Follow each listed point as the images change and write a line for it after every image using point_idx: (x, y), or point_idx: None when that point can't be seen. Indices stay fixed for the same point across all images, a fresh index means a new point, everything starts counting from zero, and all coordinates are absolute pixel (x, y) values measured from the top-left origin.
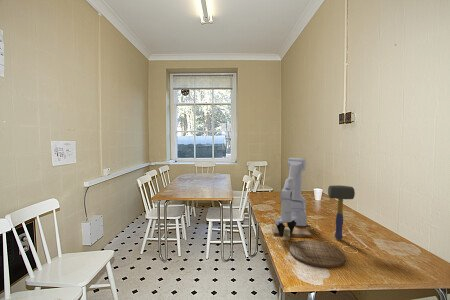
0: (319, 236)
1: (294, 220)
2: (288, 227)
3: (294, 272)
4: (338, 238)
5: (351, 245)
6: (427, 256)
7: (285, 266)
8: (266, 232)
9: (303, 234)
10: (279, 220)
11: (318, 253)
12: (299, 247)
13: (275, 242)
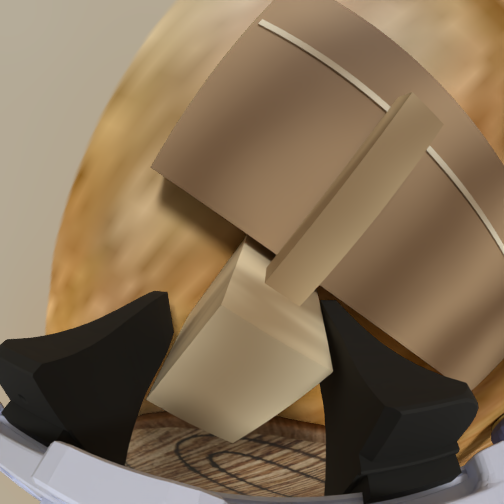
0: (499, 376)
1: (452, 481)
2: (310, 387)
3: None
4: (491, 435)
5: (458, 462)
6: None
7: None
8: (155, 46)
9: (438, 370)
10: (6, 474)
11: None
12: (184, 460)
13: (93, 308)
